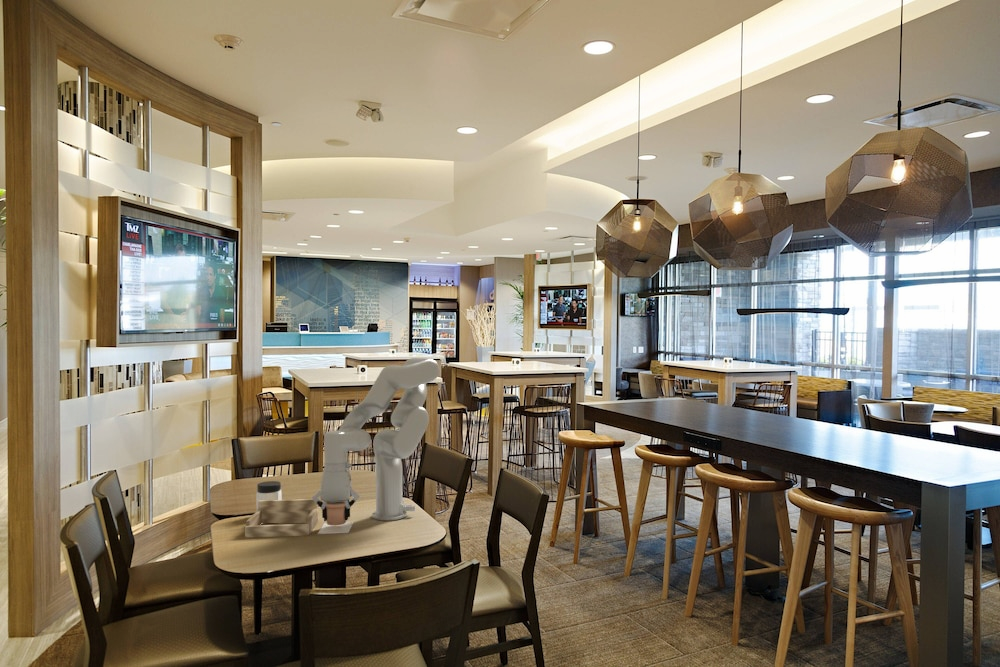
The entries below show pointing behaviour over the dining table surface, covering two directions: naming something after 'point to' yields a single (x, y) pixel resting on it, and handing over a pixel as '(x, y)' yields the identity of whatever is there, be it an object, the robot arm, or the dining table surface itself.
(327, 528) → the tile
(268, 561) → the dining table surface
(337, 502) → the pot
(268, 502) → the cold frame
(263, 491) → the jar
